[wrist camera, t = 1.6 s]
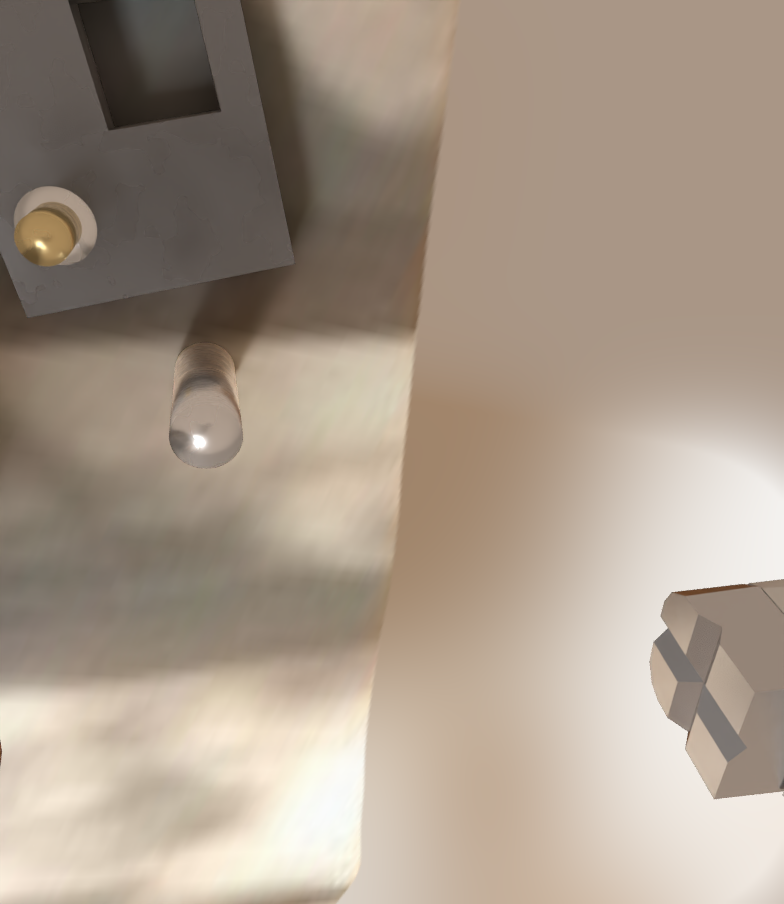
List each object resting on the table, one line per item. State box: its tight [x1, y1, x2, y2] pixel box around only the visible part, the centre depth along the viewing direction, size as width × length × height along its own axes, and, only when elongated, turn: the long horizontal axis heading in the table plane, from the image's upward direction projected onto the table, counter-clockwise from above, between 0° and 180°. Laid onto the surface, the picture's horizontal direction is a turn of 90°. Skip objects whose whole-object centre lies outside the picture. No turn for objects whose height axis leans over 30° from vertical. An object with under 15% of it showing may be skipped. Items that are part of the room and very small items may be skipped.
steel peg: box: [169, 342, 243, 468], centre depth 33 cm, size 3×3×8 cm
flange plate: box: [0, 0, 295, 318], centre depth 29 cm, size 14×12×6 cm
